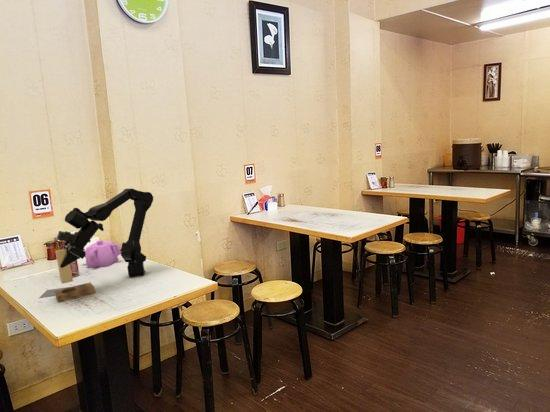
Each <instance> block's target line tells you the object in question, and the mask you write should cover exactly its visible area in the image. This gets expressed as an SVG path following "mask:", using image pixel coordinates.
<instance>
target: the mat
mask: <svg viewBox="0 0 550 412" xmlns="http://www.w3.org/2000/svg"><path fill="white" fill-rule="evenodd" d="M69 287H70V286H68V287H67V286H66V287H59V288H53V289H47V290H46V291H44V293H42V294H41V295H40V296H39V297H38V299H45V298H51V297H56V294H55V291H57V290H61V289H65V288H69Z"/></svg>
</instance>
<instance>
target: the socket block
mask: <svg viewBox="0 0 550 412" xmlns="http://www.w3.org/2000/svg"><path fill="white" fill-rule="evenodd" d="M68 287H69V288H66V287H64V288H65V289H61V290H57V291H55V294H56V296H55V298H56V300H57V302H58V303H62V302H65V301H66V302H67V301H70V300H74V299H78V298H82V297H85V296H89V295H93V294H96V290H95V286H94V285H93V284H92V282H91V281H90V282H87V283H86V282H85V283H83V284H82V283H81V284H77V285H73V286H68Z"/></svg>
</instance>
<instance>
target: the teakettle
mask: <svg viewBox="0 0 550 412" xmlns="http://www.w3.org/2000/svg"><path fill="white" fill-rule="evenodd" d="M120 250H121V247H120V243H115V242H114V240H113V241H111V240H110V241H104V240H102V239H100V240H97V241H95V242H94V243H92V244H90V245H88V246H86V249H85V248H84V251H85V254H86V255H85V257H84V258H85V265H86V267H87V268H88V269H93V268H94V269H95V268H96V269H97V268H102V267H103V268H104V267H109V266H112V265H113V264H114V263H116V262H117V261H118V259H119V258H118V257H119V256H121V251H120Z"/></svg>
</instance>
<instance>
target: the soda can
mask: <svg viewBox="0 0 550 412" xmlns="http://www.w3.org/2000/svg"><path fill="white" fill-rule="evenodd" d="M70 267H71V272H72V278H76V277H78V276H79V275H80V269H79V264H78V259H77V260H76V261H74V262H72V263H70Z"/></svg>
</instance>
